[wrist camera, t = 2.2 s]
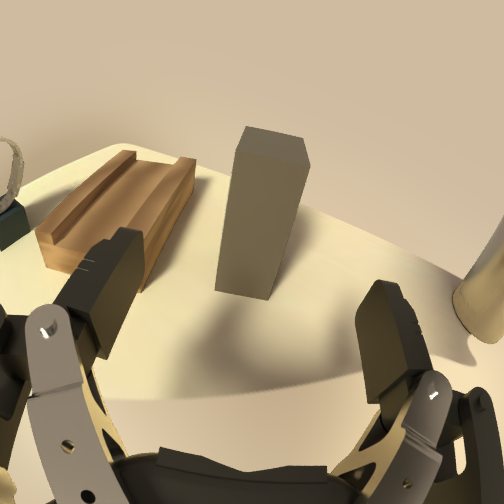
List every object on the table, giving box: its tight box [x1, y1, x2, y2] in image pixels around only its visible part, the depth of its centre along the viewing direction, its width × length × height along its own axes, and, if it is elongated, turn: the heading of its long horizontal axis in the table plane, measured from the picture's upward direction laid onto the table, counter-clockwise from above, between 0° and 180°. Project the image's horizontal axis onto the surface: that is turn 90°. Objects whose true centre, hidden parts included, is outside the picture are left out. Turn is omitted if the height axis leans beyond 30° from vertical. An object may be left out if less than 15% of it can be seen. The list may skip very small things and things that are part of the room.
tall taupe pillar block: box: [215, 126, 310, 300], centre depth 23 cm, size 5×6×12 cm
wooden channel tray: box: [35, 150, 196, 293], centre depth 27 cm, size 10×18×4 cm, turn 175°
